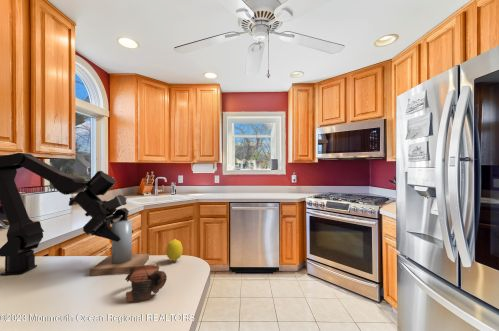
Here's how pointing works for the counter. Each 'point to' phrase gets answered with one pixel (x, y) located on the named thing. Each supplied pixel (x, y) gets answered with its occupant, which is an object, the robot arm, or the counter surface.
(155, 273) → the pottery mug
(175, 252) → the lemon
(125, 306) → the counter surface
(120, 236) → the grey cylinder
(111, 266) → the shelf board
